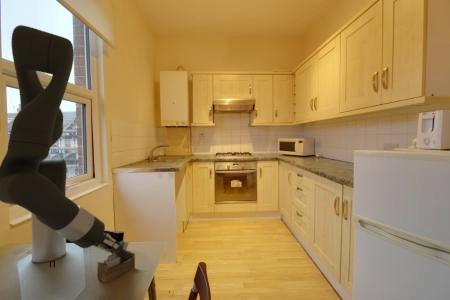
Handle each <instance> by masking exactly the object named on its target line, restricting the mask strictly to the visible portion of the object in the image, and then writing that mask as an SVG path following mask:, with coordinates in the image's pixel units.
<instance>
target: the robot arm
mask: <svg viewBox="0 0 450 300" xmlns="http://www.w3.org/2000/svg"><path fill="white" fill-rule="evenodd" d="M10 43H11V54H12V59H13V64H14V70H15V74H16V78H17V79H16V80H17V84H18V85H17V86H18V89H19V100H20V101H19V102H20V110H19V112H18V113H17V114H16V116H15V117H14V119H13V121H12V124H11V127H10V128H11V129H10V132H9V133H10V134H9V139H8V144H7V151H6V152H5V155H4V158H3V159H2V161H1V164H0V202H2V203H4V204H8V205H16V206H19V207H21V208H23V209H25V210H27V211H28V212H30V213H31V262H33V263H46V262H51V261H54V260H55V261H56V260H57V259H60V258H62V257H63V256H65V254H66V253H67V240H68V241H69V242H71V243H73V244H74V245H76V246H78V247H79V248H81V249H88V248H90V247H92V246H93V247H94V248H97V249H99V250H101V251H103V252H106V253H108V254H111V255H112V254H114V255H117V256H118V257H120V258H121V259H125V257H126V256H127V254H128V252H127V251H126V250H127V249H126V250H124V249H123V248H124V247H123V246H122V244H121V241H119V240H117V239H114V238H113V237H112V235H110V234H109V233H107V232H105V228H106V225H105V223H104V221H102V220H100V219H99V218H98V217H96V216H95V215H94V214H93V213H91V212H90V211H88V210H87V209H86V208H84V207H82V206H80V205H79V204H77V203H75V201H73V200H71V199H70V198H69V197H67V196H66V189H67V188H66V184H67V171H68V170H67V162H66V160H65V159H64V158H61V157H60V158H59V157H55V158H48V156H49V155H50V151H51V148H52V147H53V146H54V145H55V144H56V143H57V142H58V140H59V139H60V138H61V137H62V136H63V132H64V114H63V111H62V109H61V108H60V107H61V105H62V102H63V99H64V96H65V93H66V89H67V86H68V83H69V80H70V76H71V74H72V73H71V72H72V69H73V65H74V58H75V51H74V46H73V43H72V41H71V40H70V39H69V38H67V37H64V36H61V35H57V34H53V33H50V32H48V31H44V30H42V29H38V28H34V27H31V26H26V25H23V24H19V25H17V26H15V27H14V28H13V31H12V34H11V41H10ZM38 72H39V73H44V74H49V75H51V78H50V81H49V83H48V84H47V86H46V87H44V86H43V84H42V82H41V80H40V78H39V74H38Z"/></svg>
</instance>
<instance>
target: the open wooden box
mask: <svg viewBox="0 0 450 300" xmlns="http://www.w3.org/2000/svg"><path fill="white" fill-rule="evenodd" d="M126 251H127V252H128V254H127V256H126V257H125V259H121V258H120V264H119V265H117V266H115V267H113V268H111V269H108V265H106V264H104V262H101V261H98V262H97V279H98V280H100V281H102V282H104V283H108V282H110V281H112V280H115V279H116V278H118V277H120V276H122V275H124V274H125V273H128V272H129V271H131V270H132V269H135V268H136V253H135V252H134V251H130V250H129V249H126Z"/></svg>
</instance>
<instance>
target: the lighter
mask: <svg viewBox="0 0 450 300" xmlns="http://www.w3.org/2000/svg"><path fill="white" fill-rule="evenodd" d="M120 243H121V244H122V246H123V247H124V248H123V249H124V250H128V245H129V241H125V240H121V241H120ZM103 263H104V264H106V265H108V269H111V268H113V267H115V266H117V265H119V264H120V257H118V256H117V255H114V254H112V253H111V254H109V255H108V257H107V258H106V259H105V260H103Z"/></svg>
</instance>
